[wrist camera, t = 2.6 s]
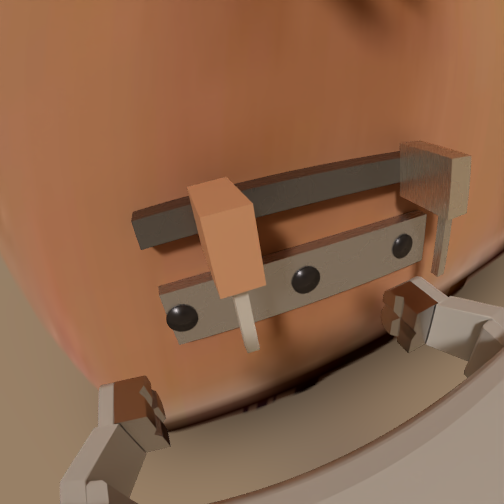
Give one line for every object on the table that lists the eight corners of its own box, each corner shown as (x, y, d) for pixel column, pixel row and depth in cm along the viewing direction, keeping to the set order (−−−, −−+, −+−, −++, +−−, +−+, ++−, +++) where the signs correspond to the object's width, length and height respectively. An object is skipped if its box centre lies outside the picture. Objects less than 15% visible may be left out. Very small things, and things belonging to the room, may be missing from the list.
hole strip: (418, 209, 27) (427, 214, 26) (414, 254, 29) (422, 260, 28) (155, 287, 23) (156, 297, 21) (175, 335, 25) (177, 346, 24)
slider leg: (226, 176, 18) (252, 203, 14) (252, 307, 23) (277, 356, 19) (186, 186, 18) (199, 217, 13) (220, 316, 23) (240, 369, 18)
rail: (419, 135, 24) (483, 153, 17) (416, 234, 28) (468, 268, 22) (127, 195, 19) (116, 239, 13) (169, 314, 24) (180, 383, 18)
